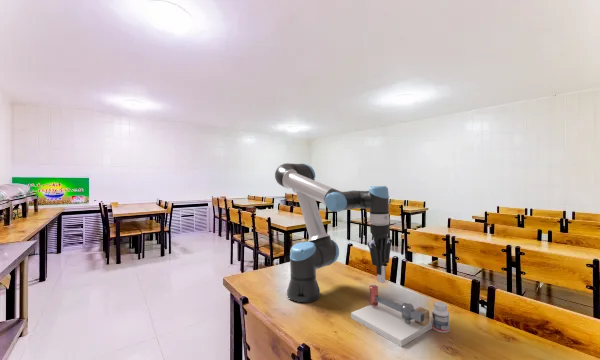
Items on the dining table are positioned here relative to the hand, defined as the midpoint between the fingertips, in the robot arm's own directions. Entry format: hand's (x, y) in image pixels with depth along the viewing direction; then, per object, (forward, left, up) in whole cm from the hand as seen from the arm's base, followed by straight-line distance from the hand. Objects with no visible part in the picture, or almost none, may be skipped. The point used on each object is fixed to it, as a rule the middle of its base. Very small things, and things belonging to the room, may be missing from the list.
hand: (381, 281), depth 110 cm
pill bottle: (+22, +5, -11) cm, 25 cm away
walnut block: (+18, 0, -9) cm, 20 cm away
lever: (+9, -4, -8) cm, 13 cm away
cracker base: (+9, -6, -11) cm, 15 cm away
